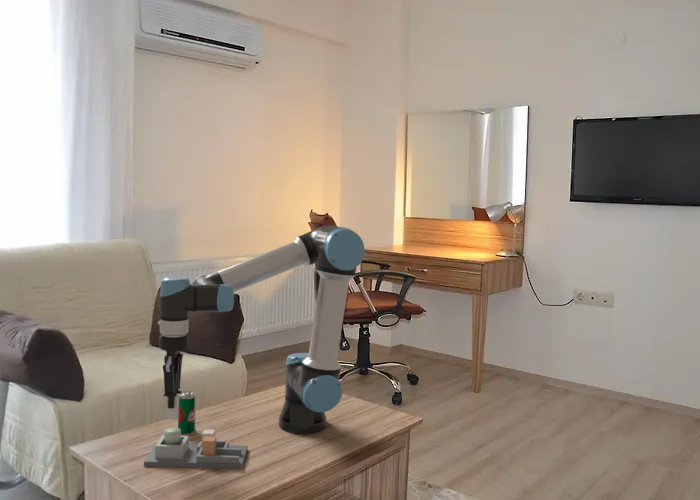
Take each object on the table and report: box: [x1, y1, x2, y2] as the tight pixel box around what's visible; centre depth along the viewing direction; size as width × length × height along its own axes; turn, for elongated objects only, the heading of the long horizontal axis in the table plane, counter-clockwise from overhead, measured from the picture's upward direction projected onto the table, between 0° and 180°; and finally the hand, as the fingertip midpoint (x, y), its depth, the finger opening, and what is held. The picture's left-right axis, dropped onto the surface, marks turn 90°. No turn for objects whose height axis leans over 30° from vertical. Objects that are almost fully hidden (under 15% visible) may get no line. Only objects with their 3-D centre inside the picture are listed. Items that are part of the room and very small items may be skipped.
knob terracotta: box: [203, 436, 217, 455], centre depth 174 cm, size 3×3×5 cm
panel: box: [143, 434, 248, 469], centre depth 176 cm, size 26×12×5 cm, turn 92°
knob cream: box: [201, 428, 216, 447], centre depth 179 cm, size 3×3×5 cm
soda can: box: [177, 390, 197, 435], centre depth 194 cm, size 5×5×12 cm
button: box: [163, 427, 182, 444], centre depth 176 cm, size 4×4×3 cm
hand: (171, 418), depth 175 cm, fingers closed
